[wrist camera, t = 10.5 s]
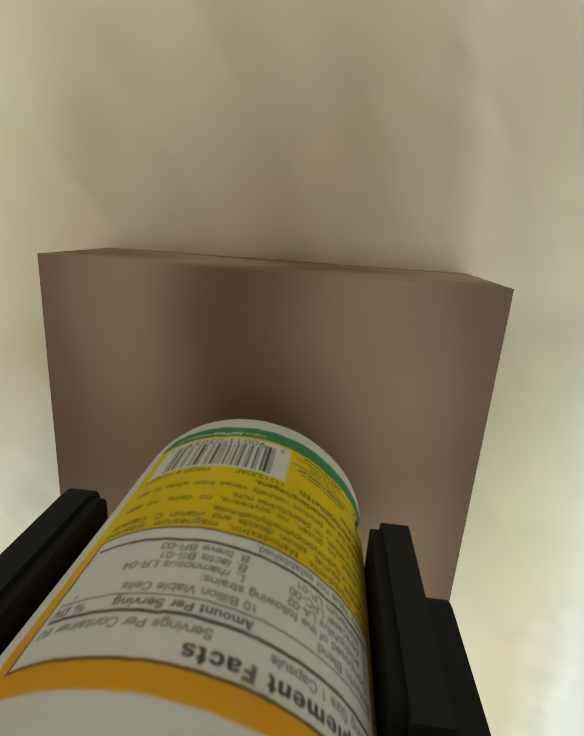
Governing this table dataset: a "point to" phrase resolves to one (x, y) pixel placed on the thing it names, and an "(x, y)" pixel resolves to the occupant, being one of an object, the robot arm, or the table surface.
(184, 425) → the walnut stand
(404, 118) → the table surface
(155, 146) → the table surface
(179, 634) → the supplement bottle
